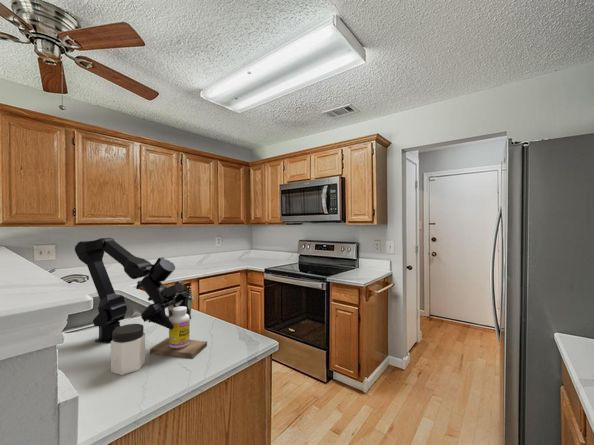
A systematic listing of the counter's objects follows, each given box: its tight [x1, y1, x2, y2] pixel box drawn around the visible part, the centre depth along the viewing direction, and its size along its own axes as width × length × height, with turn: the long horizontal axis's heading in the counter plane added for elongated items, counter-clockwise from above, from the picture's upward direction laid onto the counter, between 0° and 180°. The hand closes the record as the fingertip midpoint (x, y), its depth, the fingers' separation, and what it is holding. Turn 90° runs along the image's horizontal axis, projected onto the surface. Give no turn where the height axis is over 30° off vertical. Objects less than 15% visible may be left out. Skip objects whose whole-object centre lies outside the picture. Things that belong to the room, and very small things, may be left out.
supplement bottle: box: [168, 306, 191, 348], centre depth 96 cm, size 7×7×13 cm
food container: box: [167, 292, 195, 319], centre depth 129 cm, size 12×6×10 cm, turn 92°
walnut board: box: [149, 337, 208, 359], centre depth 96 cm, size 16×9×2 cm, turn 80°
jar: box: [110, 323, 146, 376], centre depth 84 cm, size 9×8×12 cm
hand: (182, 323), depth 96 cm, fingers open, 9 cm apart
